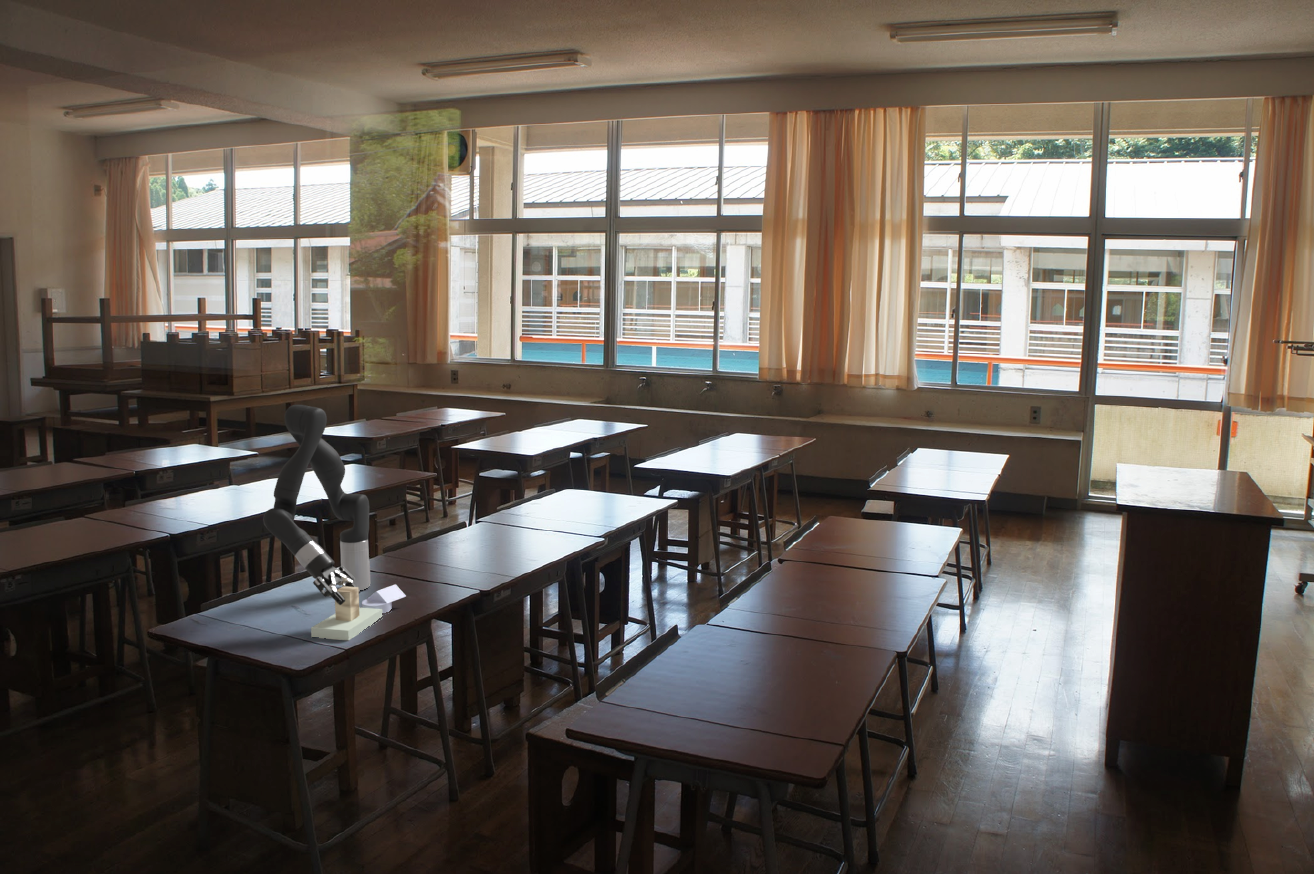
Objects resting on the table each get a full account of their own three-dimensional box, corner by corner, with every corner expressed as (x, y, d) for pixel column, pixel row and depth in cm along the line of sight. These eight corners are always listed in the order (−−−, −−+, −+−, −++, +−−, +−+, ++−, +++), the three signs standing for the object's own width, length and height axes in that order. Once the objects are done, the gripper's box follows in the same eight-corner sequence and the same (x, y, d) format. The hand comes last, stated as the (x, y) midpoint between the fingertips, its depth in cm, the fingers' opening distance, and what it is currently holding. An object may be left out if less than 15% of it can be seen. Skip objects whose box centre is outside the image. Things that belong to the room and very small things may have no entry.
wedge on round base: (386, 601, 300) (356, 613, 288) (385, 582, 299) (355, 592, 287) (406, 606, 296) (377, 617, 284) (406, 586, 295) (376, 596, 283)
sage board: (347, 615, 286) (347, 606, 285) (382, 618, 283) (382, 609, 283) (311, 637, 266) (311, 627, 266) (348, 640, 264) (348, 630, 263)
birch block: (344, 614, 277) (343, 586, 276) (359, 615, 276) (358, 587, 275) (335, 620, 273) (334, 591, 271) (350, 621, 272) (349, 592, 270)
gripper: (308, 557, 266) (345, 597, 266) (335, 545, 280) (370, 583, 279) (293, 573, 268) (330, 614, 267) (320, 561, 282) (355, 599, 281)
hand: (350, 598), depth 273 cm, fingers open, 8 cm apart
